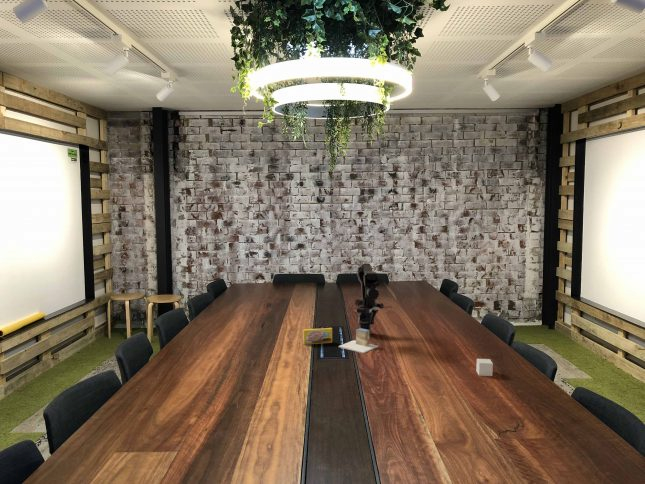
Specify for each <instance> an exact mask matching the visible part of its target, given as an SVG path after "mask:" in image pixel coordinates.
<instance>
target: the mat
mask: <svg viewBox="0 0 645 484" xmlns="http://www.w3.org/2000/svg"><path fill="white" fill-rule="evenodd" d="M378 347H379V345H376V344H372V343H369V345H367V346H362V345H358V344H356V339H354V340H351V341H347V342H346V343H343V344H340V345H338V348H340V349H344V350H349V351H352V352H356V353H359V354H365V353H367V352H370V351H372V350H374V349H376V348H378Z"/></svg>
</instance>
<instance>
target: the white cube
mask: <svg viewBox="0 0 645 484" xmlns="http://www.w3.org/2000/svg"><path fill="white" fill-rule="evenodd" d="M475 367H476V369H475V371H476V373H477V374H478V376H479V377H481V376H482V377H483V376H485V377H492V376H493V372H494V369H493V368H494V363H493V362H492V360H491V359H490V358H476V366H475Z"/></svg>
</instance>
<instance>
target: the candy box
mask: <svg viewBox="0 0 645 484" xmlns="http://www.w3.org/2000/svg"><path fill="white" fill-rule="evenodd" d="M302 332H303V334H302V335H303V337H302V338H303V339H302V344H303V345H304V346H306V345H317V344H318V345H319V344H330V343H331V344H332V343H333V328H332V327H326V328H325V327H322V328H308V329H307V328H306V329H303V331H302Z"/></svg>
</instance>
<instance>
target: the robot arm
mask: <svg viewBox="0 0 645 484" xmlns="http://www.w3.org/2000/svg"><path fill="white" fill-rule="evenodd" d="M356 276H357V278H358V279H357V280H358V281H359V282H360V285H361V287H360V288H361V299H360V298H357V299H354V300H355V301H354V305H355V306H357V307H356V313H357V314H358V316H357V317H358V318H357V323H358V325H360V327H359V328H362V329H367V330H369V336H371V335H372V334H374V332H372V330H371V329H372V325H374V324H375V318H376V315H377V314H378V312H379V310H378V308H379V309H380V310H383V309H384V303H383V302H379V301H376V300H378V297H379V295H380V293H379V290H378V289H377V287H379V286H380V277H379V275H378V273H377V272H376V271H373V267H372V266H371V263H361V265H360V266H359V267H357V271H356Z"/></svg>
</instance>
